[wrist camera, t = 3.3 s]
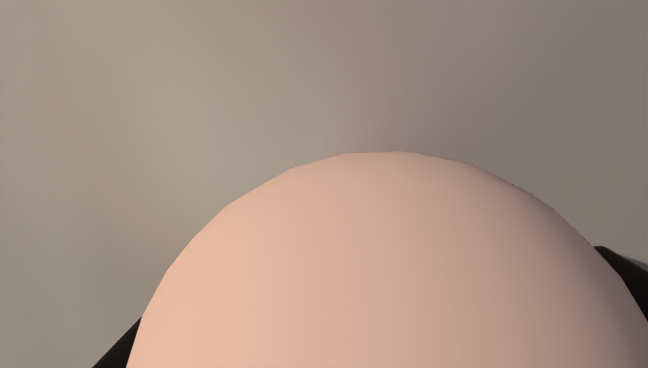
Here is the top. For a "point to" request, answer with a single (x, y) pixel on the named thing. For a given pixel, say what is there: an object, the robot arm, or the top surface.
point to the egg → (390, 277)
